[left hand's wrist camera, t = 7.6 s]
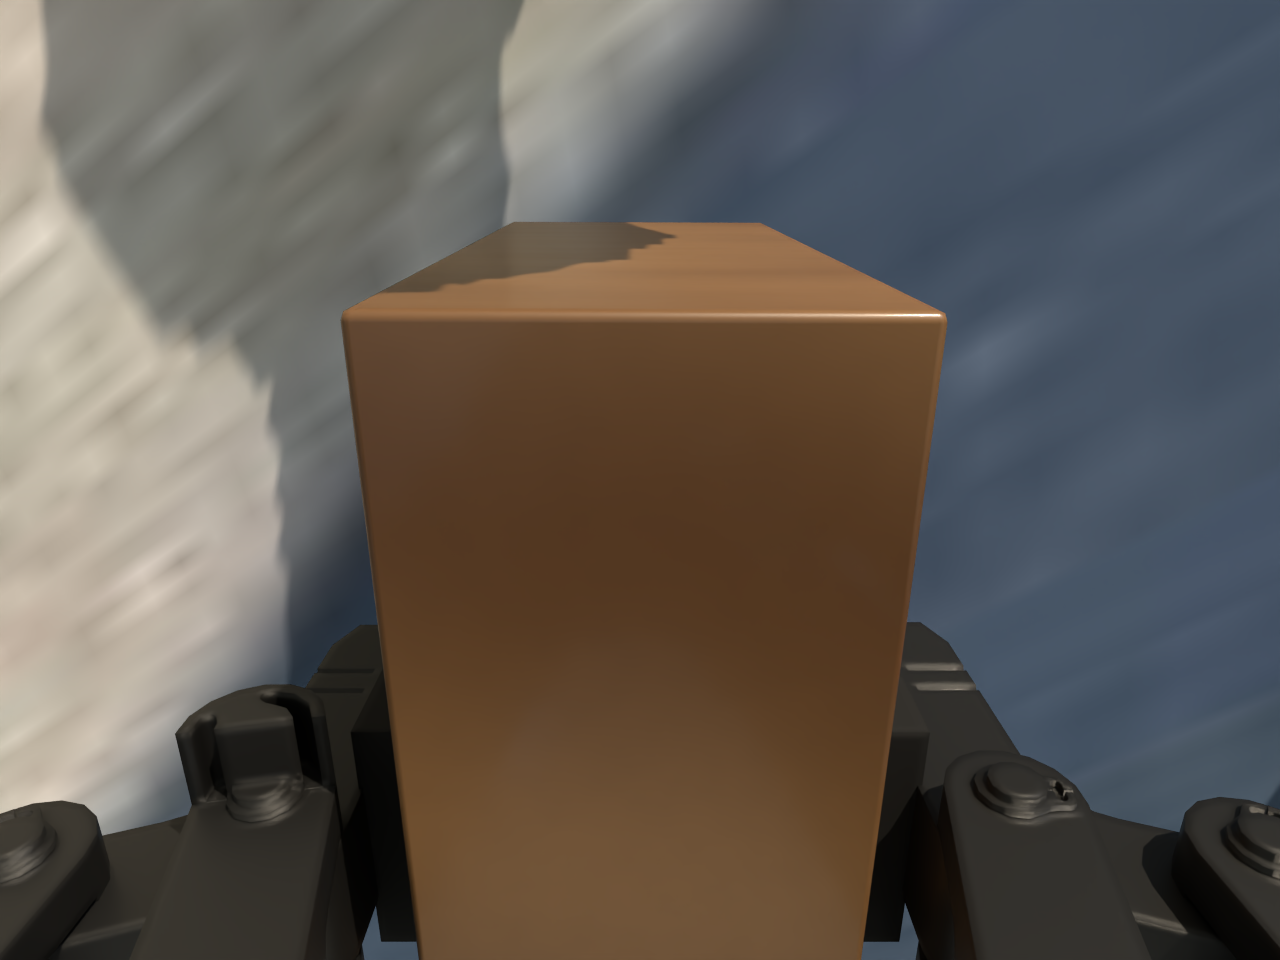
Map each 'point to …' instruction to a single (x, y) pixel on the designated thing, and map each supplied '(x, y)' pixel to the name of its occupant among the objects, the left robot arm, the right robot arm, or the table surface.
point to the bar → (641, 584)
